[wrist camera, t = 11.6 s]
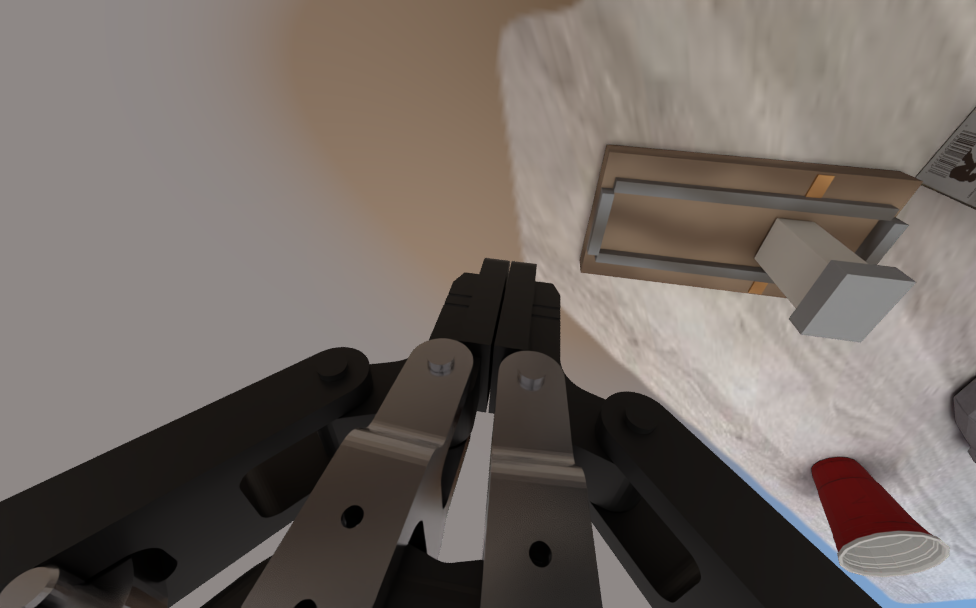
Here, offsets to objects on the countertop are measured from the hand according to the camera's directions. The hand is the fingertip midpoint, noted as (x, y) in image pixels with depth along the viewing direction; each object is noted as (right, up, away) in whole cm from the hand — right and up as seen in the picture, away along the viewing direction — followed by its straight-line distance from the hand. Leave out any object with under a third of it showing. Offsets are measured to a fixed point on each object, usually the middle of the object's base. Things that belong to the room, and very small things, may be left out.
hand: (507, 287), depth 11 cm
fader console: (+22, +7, +24) cm, 33 cm away
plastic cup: (+51, -24, +43) cm, 71 cm away
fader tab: (+26, +5, +22) cm, 34 cm away
